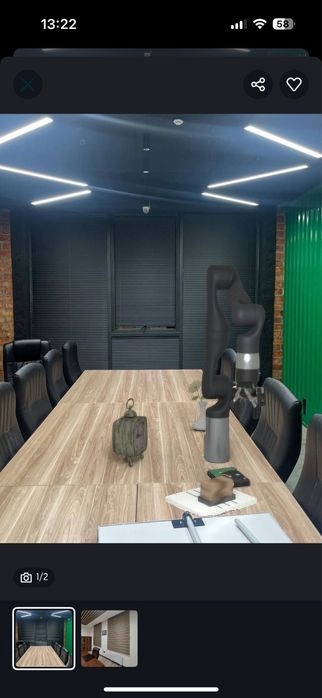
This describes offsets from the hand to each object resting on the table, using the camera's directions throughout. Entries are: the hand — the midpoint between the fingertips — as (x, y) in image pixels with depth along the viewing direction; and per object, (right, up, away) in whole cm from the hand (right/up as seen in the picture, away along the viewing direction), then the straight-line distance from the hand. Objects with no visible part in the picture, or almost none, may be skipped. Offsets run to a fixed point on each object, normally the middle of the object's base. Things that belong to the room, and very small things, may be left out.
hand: (246, 416), depth 163 cm
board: (-13, -25, -11) cm, 30 cm away
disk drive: (-5, -24, +9) cm, 26 cm away
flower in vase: (-8, -18, +85) cm, 87 cm away
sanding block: (-11, -23, -13) cm, 29 cm away
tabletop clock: (-40, -22, +31) cm, 55 cm away
